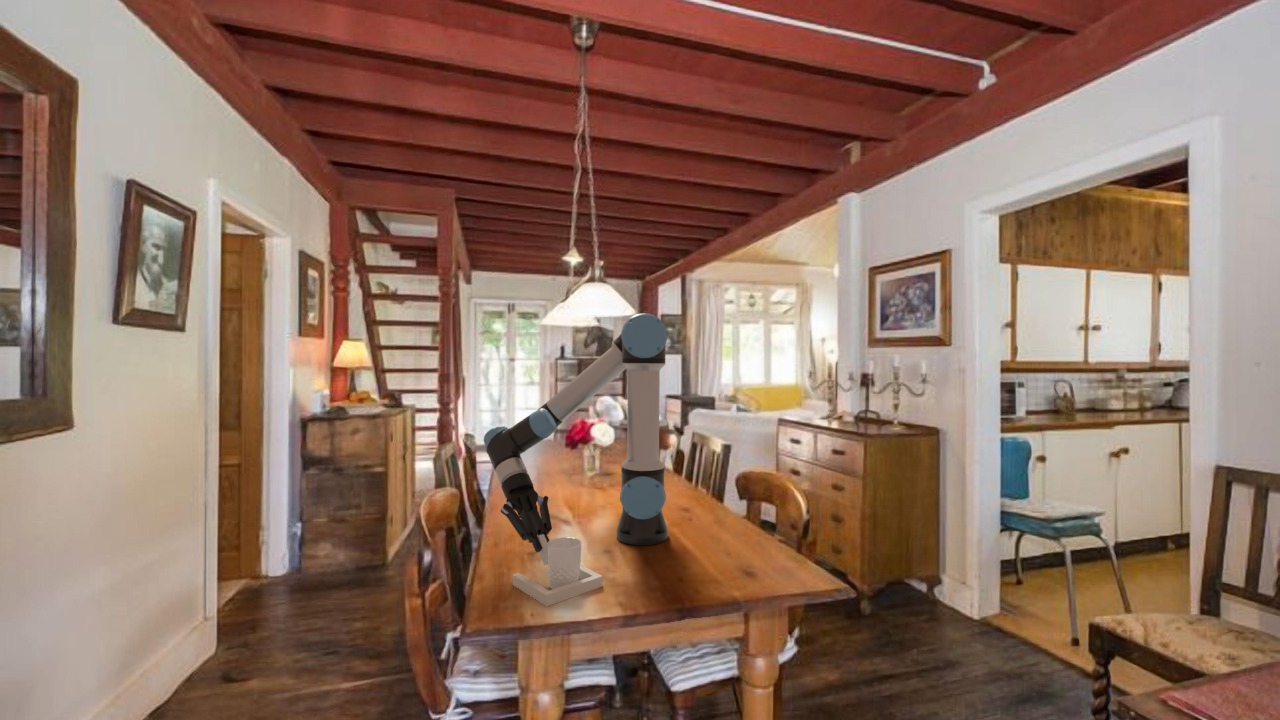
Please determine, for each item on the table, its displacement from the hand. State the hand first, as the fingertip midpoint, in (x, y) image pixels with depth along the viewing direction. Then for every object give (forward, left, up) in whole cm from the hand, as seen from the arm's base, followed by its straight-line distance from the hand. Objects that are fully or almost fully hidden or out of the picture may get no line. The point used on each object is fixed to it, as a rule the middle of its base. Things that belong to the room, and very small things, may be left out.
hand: (549, 561), depth 129 cm
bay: (-2, +2, -5) cm, 6 cm away
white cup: (-4, +3, -5) cm, 7 cm away
